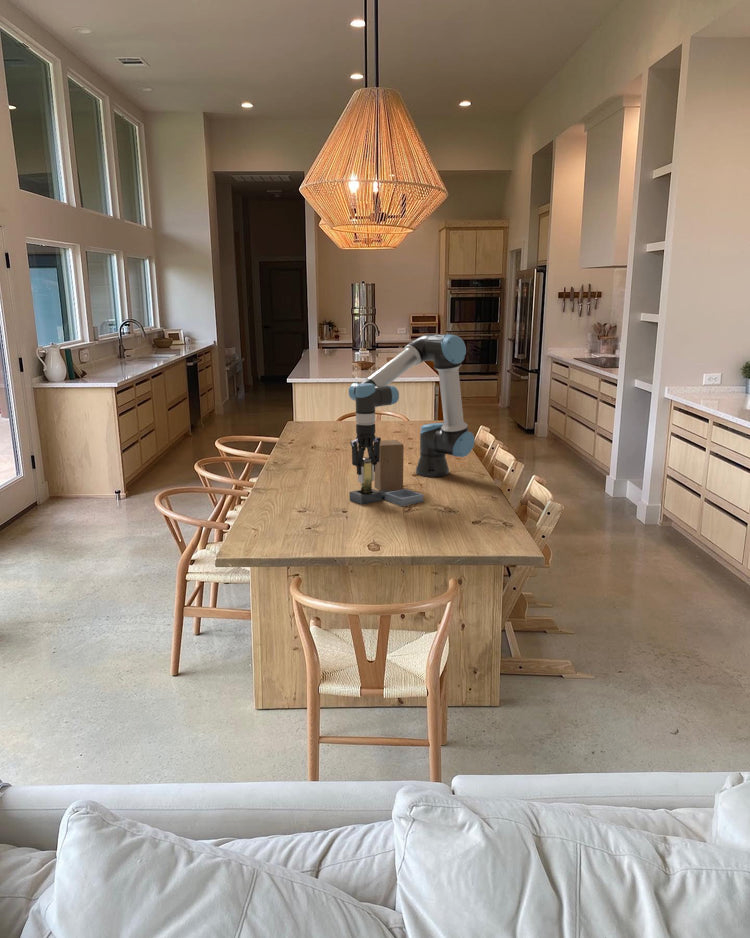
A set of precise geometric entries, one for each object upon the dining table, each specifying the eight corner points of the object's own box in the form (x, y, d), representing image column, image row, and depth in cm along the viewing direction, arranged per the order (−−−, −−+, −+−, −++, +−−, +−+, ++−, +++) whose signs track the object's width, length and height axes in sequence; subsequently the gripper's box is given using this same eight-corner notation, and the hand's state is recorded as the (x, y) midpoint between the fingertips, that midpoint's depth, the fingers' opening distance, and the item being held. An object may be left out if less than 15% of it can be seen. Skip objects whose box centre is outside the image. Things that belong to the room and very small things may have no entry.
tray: (405, 495, 301) (405, 488, 300) (423, 501, 293) (423, 494, 292) (384, 500, 295) (384, 493, 294) (402, 506, 286) (402, 499, 285)
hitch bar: (384, 493, 305) (384, 484, 304) (397, 497, 298) (397, 489, 298) (349, 500, 294) (349, 491, 293) (361, 505, 288) (361, 496, 287)
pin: (367, 489, 296) (367, 456, 293) (373, 491, 293) (373, 458, 289) (358, 491, 294) (358, 458, 290) (365, 493, 290) (364, 460, 287)
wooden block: (380, 492, 306) (380, 445, 301) (374, 486, 315) (374, 440, 311) (403, 490, 309) (404, 444, 304) (396, 484, 318) (396, 439, 313)
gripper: (377, 419, 294) (377, 475, 300) (341, 424, 284) (342, 482, 290) (389, 422, 289) (389, 479, 294) (353, 427, 278) (353, 486, 284)
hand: (366, 481), depth 292 cm, fingers closed on pin, 4 cm apart
